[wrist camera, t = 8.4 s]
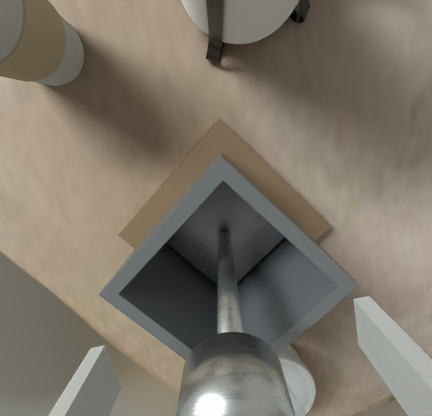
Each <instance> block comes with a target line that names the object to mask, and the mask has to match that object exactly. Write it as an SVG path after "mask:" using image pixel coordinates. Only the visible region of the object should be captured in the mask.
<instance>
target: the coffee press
mask: <svg viewBox="0 0 432 416" xmlns="http://www.w3.org/2000/svg"><path fill="white" fill-rule="evenodd" d="M181 1H182V3H183V5H184V7H185V9H186V11H187V13H188V15H189V16H190V18H191V19H192V20H193V22H194V23H195V24H196V25H197V26H198V27H199V28H200V29H201V30H202V31H203V32H205V33H206V34H208V35H209V45H208V50H207V55H206V59H207V60H210V61H212V62H214V63H217V64H218V63H219V61H220V58H221V55H222V51H223V48H224V44H225V43H230V44H247V43H252V42H256V41H258V40H261V39H263V38H265V37H267V36H269V35H270V34H272V33H273V32H274V31H276V30H277V29H278V28H279V27H280V26H281V25H282V24H283V23H284V22H285V21H286V20H287V18H288V17H290V18H291V19H292V20H293V21H294V22H297V23H302V22H304V20H305V18H306V15H307V13H308V10H309V8H310V3H309V1H308V0H301V1H300V4H299V6H298V5H297V3H298V1H299V0H181Z"/></svg>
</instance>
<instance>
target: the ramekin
mask: <svg viewBox="0 0 432 416" xmlns="http://www.w3.org/2000/svg"><path fill="white" fill-rule="evenodd" d="M278 357H279V360H280V362H281V366H282V370H283V373H284V377H285V380H286V384H287V387H288V391H289V394H290V398H291V401H292V405H293V409H294V412H295V416H305V415H306V414H307V413H308V411H309V410H310V409H311V407H312V405H313V403H314V400H315V397H316V385H315V381H314V378H313V376H312V374H311V372H310V371H309V369H308V368H307V366H306V365H305V364H304V363H303V362H302V360H301V359H300V357H299V356H298V354H297V353H296V351H295V350H294V349H293V347H291V345H289V346H288V347H287V348H286V349H285V350H283V351H282V352H281V353H280V354H279V355H278Z"/></svg>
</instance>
